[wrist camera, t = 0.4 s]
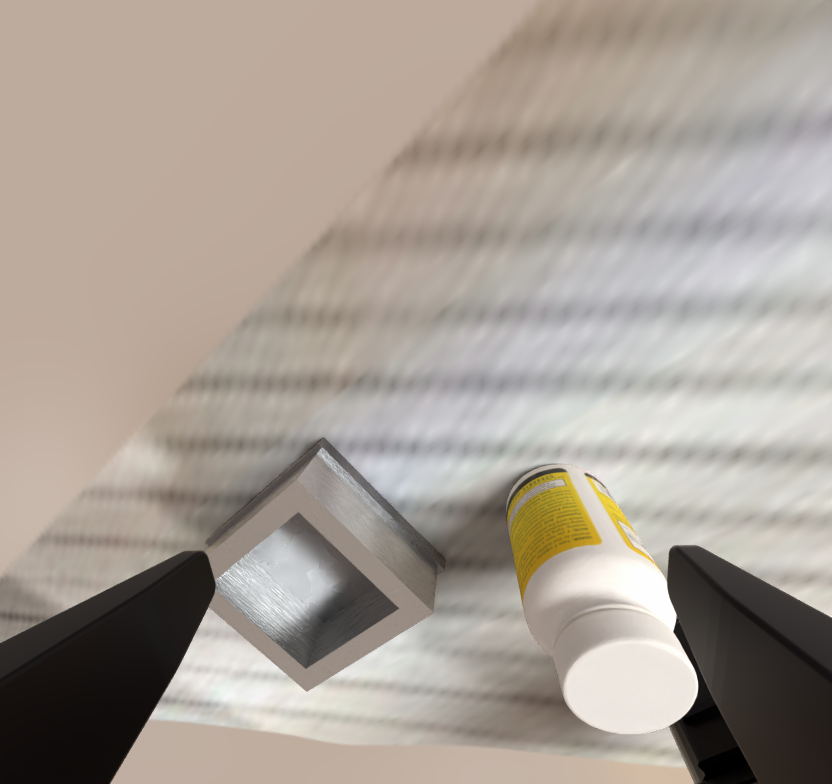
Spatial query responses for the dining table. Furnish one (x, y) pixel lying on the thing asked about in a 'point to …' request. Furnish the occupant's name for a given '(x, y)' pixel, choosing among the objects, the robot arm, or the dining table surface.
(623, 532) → the supplement bottle
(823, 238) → the dining table surface
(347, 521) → the socket collar
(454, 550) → the dining table surface
